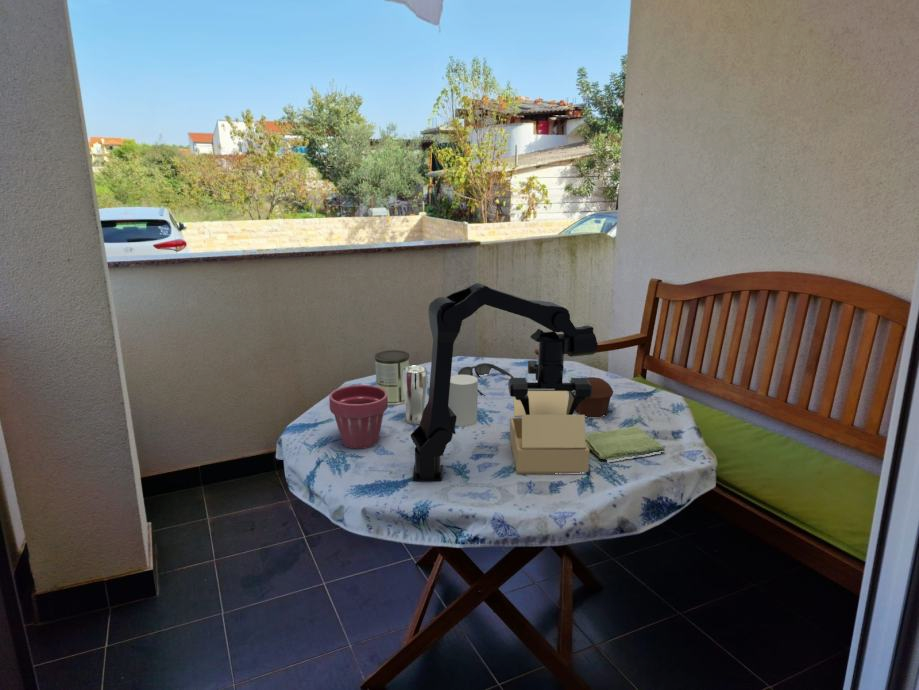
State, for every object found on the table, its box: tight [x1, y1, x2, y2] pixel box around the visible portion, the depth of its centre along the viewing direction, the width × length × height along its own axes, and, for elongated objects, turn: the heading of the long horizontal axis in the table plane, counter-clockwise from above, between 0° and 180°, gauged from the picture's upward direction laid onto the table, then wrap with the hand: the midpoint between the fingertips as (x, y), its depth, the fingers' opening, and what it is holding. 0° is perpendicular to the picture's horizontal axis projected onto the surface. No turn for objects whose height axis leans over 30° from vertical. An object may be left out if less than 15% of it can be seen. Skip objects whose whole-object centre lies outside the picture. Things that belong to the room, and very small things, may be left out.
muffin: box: [574, 376, 614, 418], centre depth 158 cm, size 12×11×10 cm
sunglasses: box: [457, 362, 515, 397], centre depth 181 cm, size 16×17×5 cm
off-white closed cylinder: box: [448, 374, 479, 427], centre depth 152 cm, size 8×8×12 cm
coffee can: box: [374, 349, 410, 406], centre depth 167 cm, size 10×10×14 cm
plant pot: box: [329, 384, 389, 450], centre depth 139 cm, size 14×14×13 cm
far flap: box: [512, 391, 569, 418], centre depth 141 cm, size 7×14×1 cm
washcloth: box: [585, 425, 666, 460], centre depth 137 cm, size 13×18×3 cm
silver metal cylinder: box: [402, 364, 429, 426], centre depth 151 cm, size 7×7×15 cm
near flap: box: [521, 414, 586, 448], centre depth 123 cm, size 7×14×1 cm
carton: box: [509, 417, 591, 475], centre depth 132 cm, size 18×16×6 cm
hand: (547, 421), depth 131 cm, fingers open, 9 cm apart
